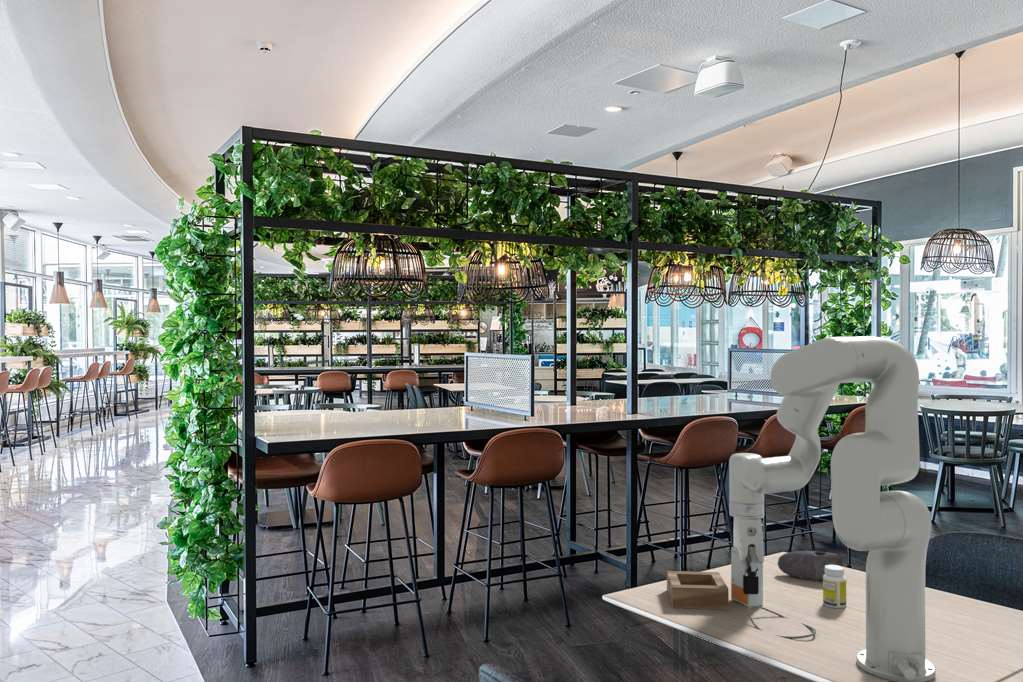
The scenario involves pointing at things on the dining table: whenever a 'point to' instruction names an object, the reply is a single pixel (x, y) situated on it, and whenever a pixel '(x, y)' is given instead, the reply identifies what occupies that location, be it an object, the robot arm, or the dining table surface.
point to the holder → (697, 590)
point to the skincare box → (737, 582)
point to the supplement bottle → (834, 587)
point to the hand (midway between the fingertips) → (746, 587)
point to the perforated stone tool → (808, 563)
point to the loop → (780, 616)
